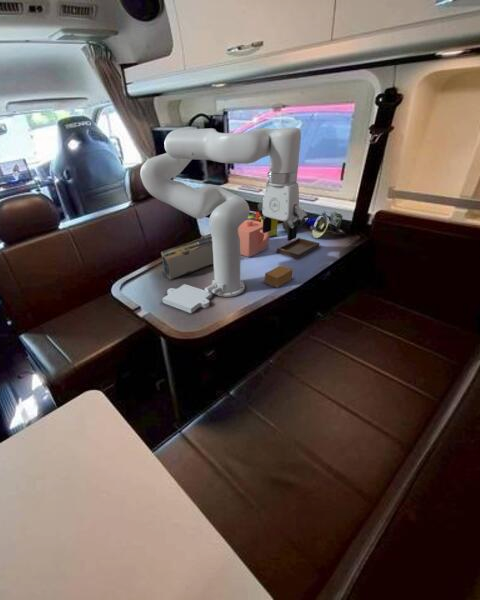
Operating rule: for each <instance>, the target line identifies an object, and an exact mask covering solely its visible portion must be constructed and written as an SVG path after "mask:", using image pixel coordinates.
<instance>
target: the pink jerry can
mask: <svg viewBox="0 0 480 600" xmlns="http://www.w3.org/2000/svg"><path fill="white" fill-rule="evenodd" d="M238 234H239V238H240V256H243V257H248V258H250V257H253V256H255V255H257V254H259V253H261V252H263V251H265V250H266V249H267V248H269V244H270V238H271V237H270V233H269V232H266V233H263V221H262V222H259V221H254V220H246V221H244V222H243V223H242V224H241V225H240V226H239V227H238Z"/></svg>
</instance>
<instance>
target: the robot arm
mask: <svg viewBox="0 0 480 600" xmlns="http://www.w3.org/2000/svg"><path fill="white" fill-rule="evenodd" d="M301 139H302V131H301V129H300V128H299V127H281V128H267V127H260V128H257V129H253V130H250V131H248V132H219V131H217V129H216V128H212V127H210V128H195V127H193V126H186V127H181V128H176V129H173V130H171V131H170V132H169V133H168V134H167V135H166V137H165V139H164V143H163V144H164V146H163V147H164V150H165V153H162V154H158V155H156V156H153V157H151V158H148V159H147V160H146V161H145V162H144V163H143V164H142V165H141V167H140V179H141V183H142V185H143V187H144V188H145V190H146V191H147V192H148V194H149V195H150V196H152V197H153V198H155V199H156V200H159V201H161V202H163V203H165V204H167V205H170V207H171V206H172V207H173V208H175V209H176V210H179V211H180V212H183V213H184V214H186V215H188V216H190V217H192V218H194V219H196V220H197V219H198V220H201V219H204V218H206V217H208V216H209V220H208V226H209V231H210V235H211V241H212V245H213V262H214V264H213V279H212V281H211V284H210V285H208V286H206V287H205V288H204V290H205V291H206V292H211V293H212V294H214V295H216V296H217V297H218V296H219V297H225V298H232V297H236V296H238V295H240V294H242V293H243V292H244V291H245V287H246V286H245V283H244V282H243V281H242V280H241V255H240V238H239V234H238V227H239V226H240V225H241V224H242V223H243V222H244V221H245V220H246V219H247V218H248V216H249V215H250V206H249V203H248V202H247V201H246V200H245V198H243V197H241V196H240V195H237V194H235V193H233V192H231V191H229V190H227V189H225V188H222V187H220V186H218V185H215V184H205V185H202V186H200V187H198V188H196V187H192V186H190V185H187V184H185V183H184V182H181V181H179V180H174V179H173V178H176V177H178V176H179V175H180V174H181V173H182V172H183V171H184V169H185V168H186V167H187V166H189V164H190V163H191V161H192V160H198V161H199V160H203V161H212V162H215V163H216V162H217V163H222V164H237V165H238V164H242V165H244V164H245V165H247V164H252V163H256V162H257V161H259V160H261V159H263V158H266V157H269V171H268V172H267V173H266V175H267V176H266V177H268V181H266V184H265V188H264V194H263V198H262V202H260V203H258V204H257V209H258V212H259V214H260V215H261V219H262V220H263V233H266V232H269V231H271V218H272V219H276V220H280V221H282V222H284V221H287V222H288V224H289V225H290V228H288V231H287V238H286V239H287V241H289V242H291V241H293V240H295V239H297V235H298V229H297V226H299V225H300V224H301V223H302V222H303V221H304V219H305V218H307V216H308V214H307V212H306V211H305V210H304V209H302V208H301V207H300V188H299V183H298V172H299V171H298V170H299V161H300V151H301V141H302V140H301ZM303 210H304V211H303ZM297 215H299V218H298V219H297ZM292 220H293V221H294V223H293V221H292Z"/></svg>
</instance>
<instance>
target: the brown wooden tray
mask: <svg viewBox="0 0 480 600" xmlns="http://www.w3.org/2000/svg"><path fill="white" fill-rule="evenodd" d="M319 248H320V242H316V241H314V240H309V239H306V238H301V237H296V238H295V239H293V240H291V241H289V242H287V243H285V244H283V245H281V246H279V247H277V248H276V253H277V254H281V255H284V256H287V257H290V258H294V259H296V260H299V259H300V258H302V257H304V256H306V255H307V254H310V253H311V252H314V251H315V250H317V249H319Z"/></svg>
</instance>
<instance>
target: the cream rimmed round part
mask: <svg viewBox="0 0 480 600" xmlns="http://www.w3.org/2000/svg"><path fill="white" fill-rule="evenodd" d="M316 218H317V217H316ZM329 221H330V217H329V216H328V214H327V213H326V211H323V212H322V213H321V215H319V216H318V218H317V220H316V222H315V224H314V226H313V228H314V229H313V230H312V233H311V234H312V236H313V238H314V239H318V238H320V237H321V236H323V235H324V234H326V233H327V232H328V233H329V232H330V233H332V234H337V235H343V236H346V235H347V232H346V230H344V229H342V228H341V227H340V228H338V227H336V226H335V225H332V224H329Z"/></svg>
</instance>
